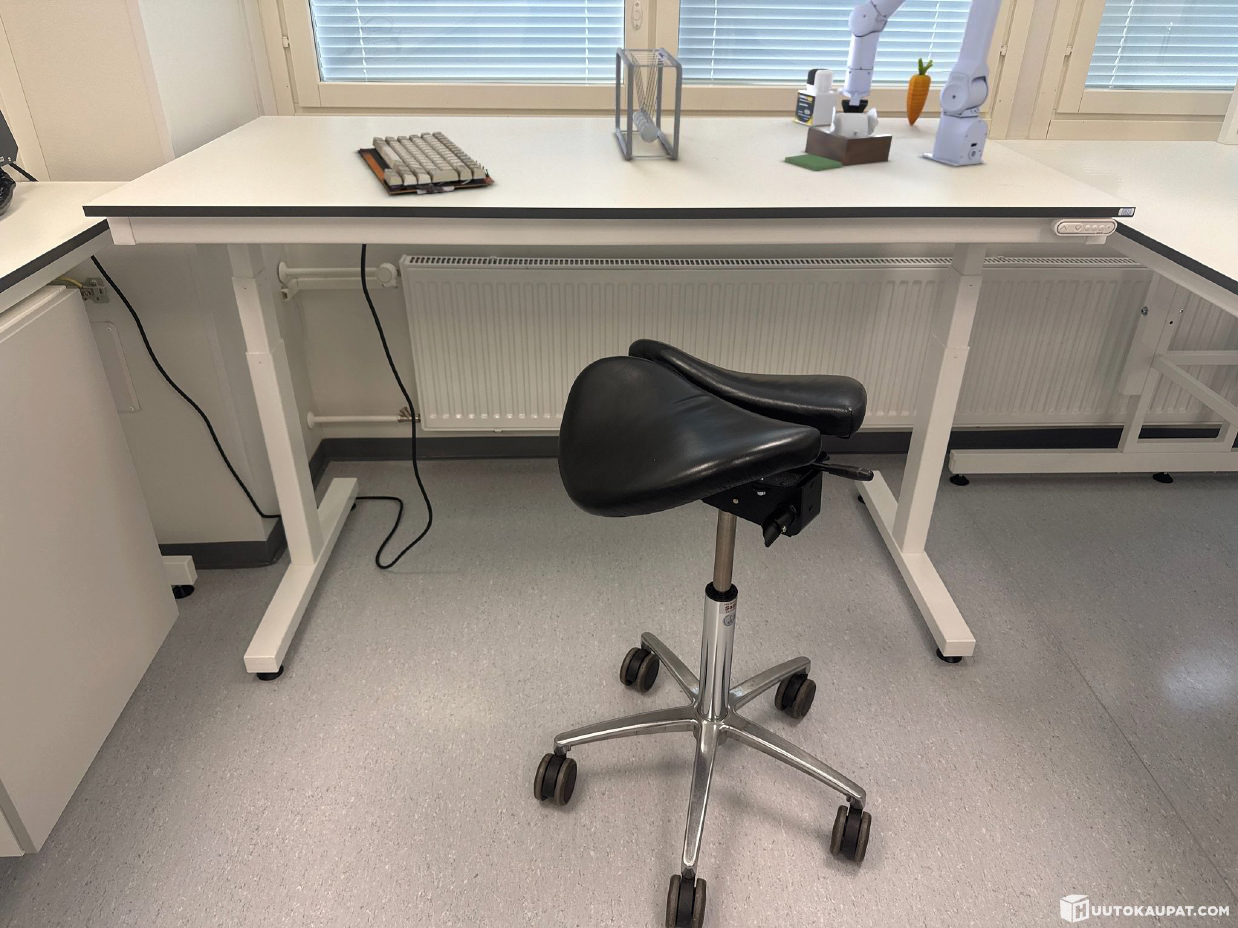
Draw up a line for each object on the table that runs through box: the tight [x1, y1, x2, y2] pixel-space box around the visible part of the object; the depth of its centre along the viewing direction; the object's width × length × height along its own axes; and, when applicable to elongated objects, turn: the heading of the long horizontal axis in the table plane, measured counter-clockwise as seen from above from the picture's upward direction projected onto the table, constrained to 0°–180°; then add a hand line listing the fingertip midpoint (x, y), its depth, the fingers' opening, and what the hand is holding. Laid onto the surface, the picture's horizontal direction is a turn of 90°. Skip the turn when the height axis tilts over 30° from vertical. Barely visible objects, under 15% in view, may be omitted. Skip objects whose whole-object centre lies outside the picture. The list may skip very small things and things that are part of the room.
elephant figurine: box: [829, 106, 879, 138], centre depth 173 cm, size 10×12×9 cm
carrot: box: [906, 57, 934, 126], centre depth 197 cm, size 5×5×15 cm
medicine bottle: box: [794, 68, 840, 127], centre depth 198 cm, size 7×7×12 cm
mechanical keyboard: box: [356, 131, 495, 195], centre depth 156 cm, size 38×19×3 cm, turn 24°
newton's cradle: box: [614, 46, 683, 161], centre depth 172 cm, size 30×10×18 cm, turn 5°
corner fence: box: [804, 126, 894, 167], centre depth 170 cm, size 13×11×5 cm
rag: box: [784, 153, 843, 171], centre depth 165 cm, size 9×7×1 cm
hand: (849, 135), depth 183 cm, fingers closed
